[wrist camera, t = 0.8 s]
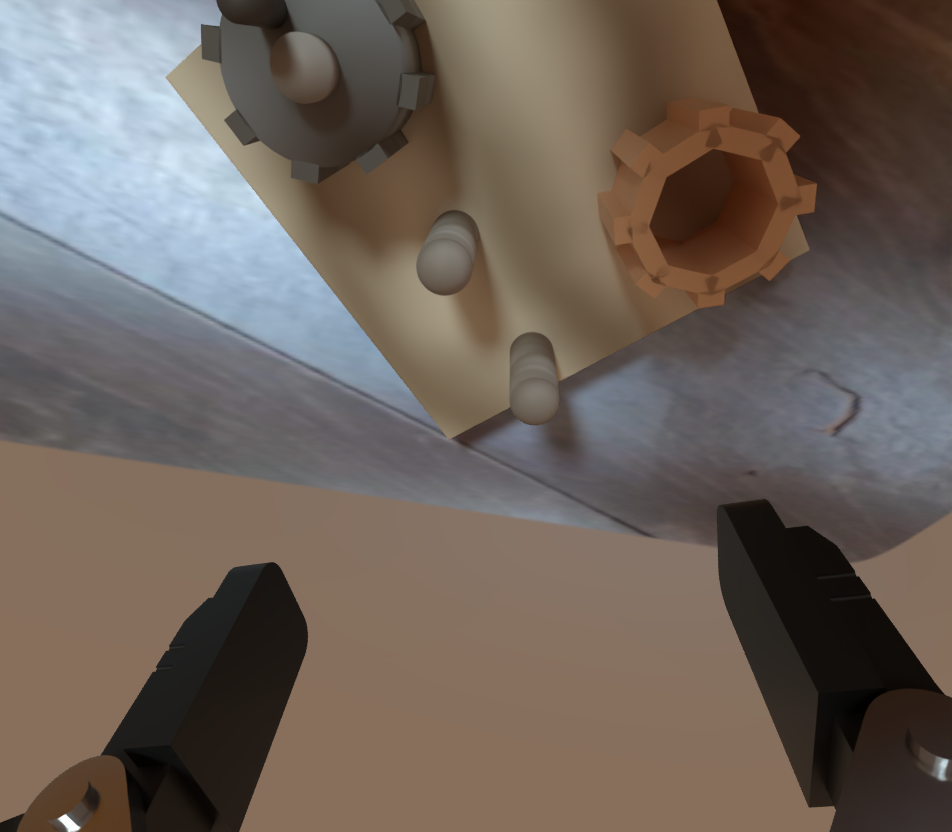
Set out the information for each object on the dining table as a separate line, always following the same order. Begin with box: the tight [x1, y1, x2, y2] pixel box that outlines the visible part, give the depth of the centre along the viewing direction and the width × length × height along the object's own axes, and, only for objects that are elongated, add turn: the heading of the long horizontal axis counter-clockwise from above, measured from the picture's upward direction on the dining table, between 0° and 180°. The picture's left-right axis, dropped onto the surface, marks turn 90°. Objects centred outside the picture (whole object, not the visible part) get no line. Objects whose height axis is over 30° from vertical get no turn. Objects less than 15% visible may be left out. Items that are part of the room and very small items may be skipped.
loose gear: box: [597, 97, 817, 309], centre depth 21 cm, size 6×6×4 cm
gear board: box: [166, 0, 810, 439], centre depth 21 cm, size 18×19×9 cm
